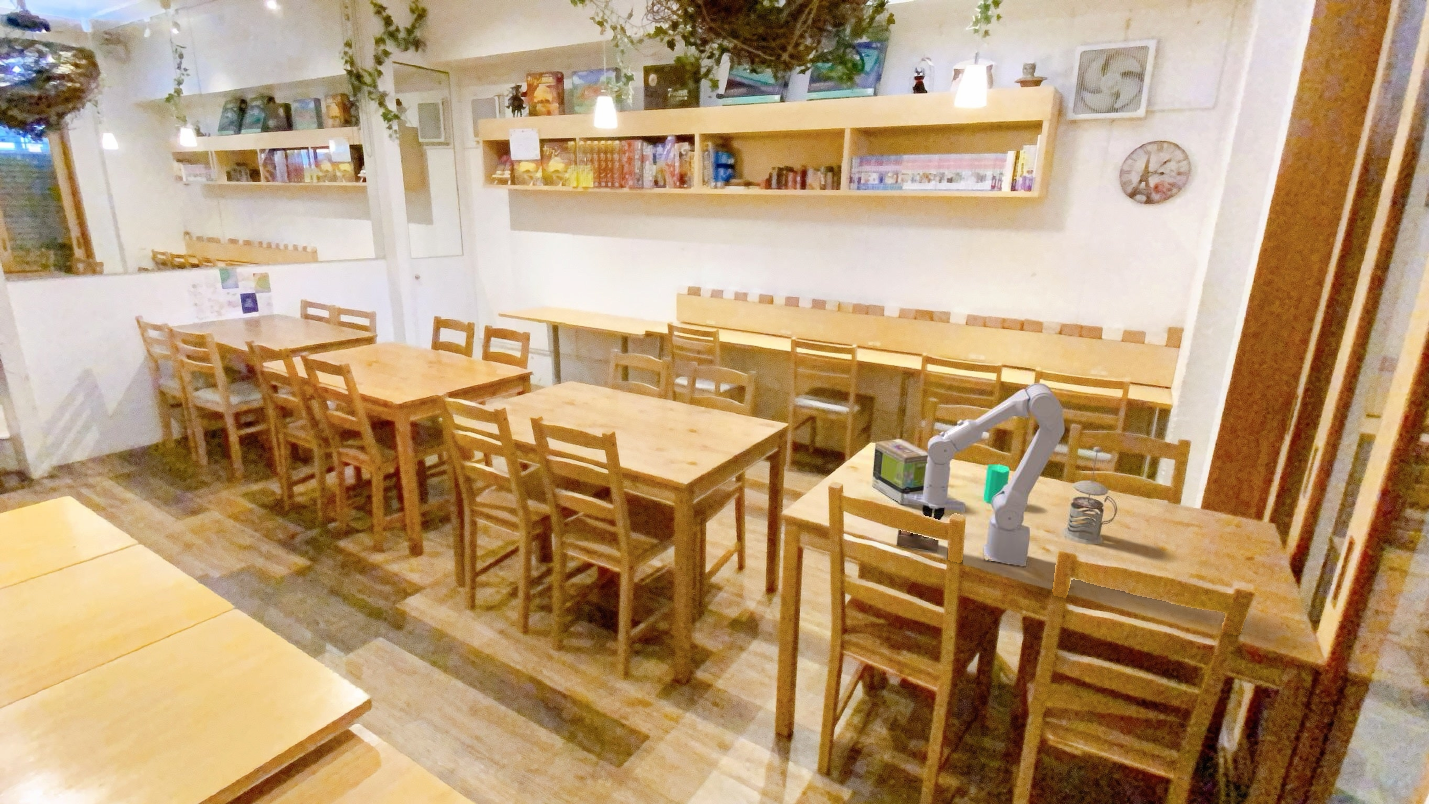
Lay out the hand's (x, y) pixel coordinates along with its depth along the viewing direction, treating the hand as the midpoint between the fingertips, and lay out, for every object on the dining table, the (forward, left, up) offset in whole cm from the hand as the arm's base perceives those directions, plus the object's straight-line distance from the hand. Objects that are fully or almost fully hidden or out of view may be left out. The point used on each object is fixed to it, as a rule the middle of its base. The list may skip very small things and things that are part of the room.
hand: (930, 532), depth 175 cm
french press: (-39, -20, -4) cm, 44 cm away
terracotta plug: (+6, 0, -2) cm, 6 cm away
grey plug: (0, 0, -3) cm, 3 cm away
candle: (-17, -36, -4) cm, 40 cm away
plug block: (+3, 0, -4) cm, 5 cm away
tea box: (+10, -32, -4) cm, 34 cm away
